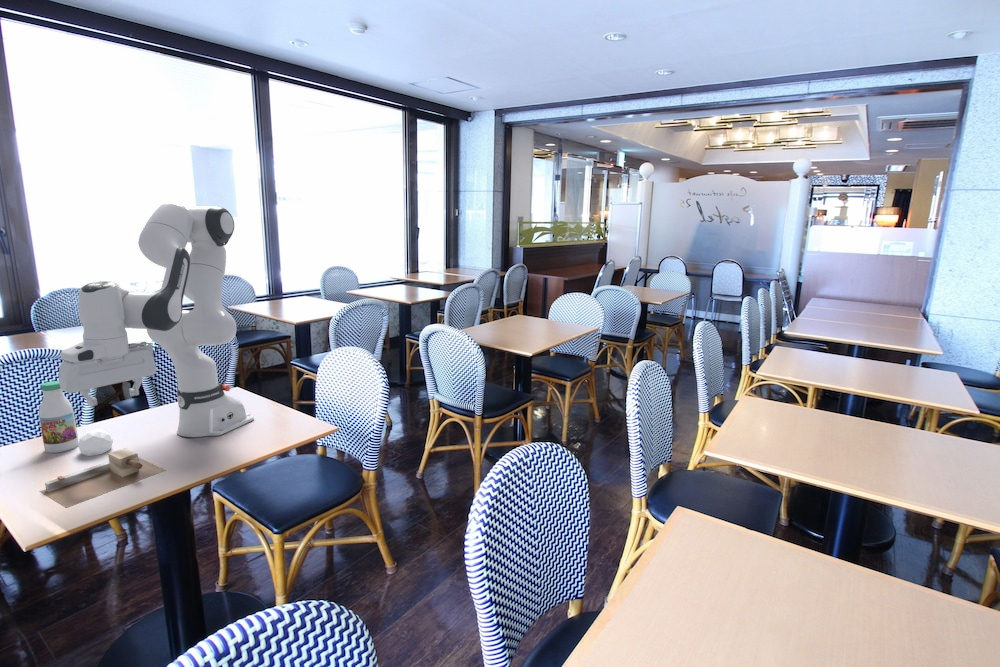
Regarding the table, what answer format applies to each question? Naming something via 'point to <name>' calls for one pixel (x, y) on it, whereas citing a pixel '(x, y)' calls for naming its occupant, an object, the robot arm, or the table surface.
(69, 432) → the milk bottle
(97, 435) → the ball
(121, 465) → the wooden mallet
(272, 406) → the table surface
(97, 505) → the table surface
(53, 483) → the walnut board
